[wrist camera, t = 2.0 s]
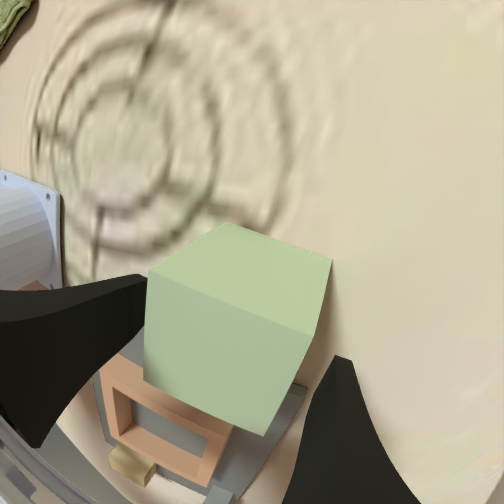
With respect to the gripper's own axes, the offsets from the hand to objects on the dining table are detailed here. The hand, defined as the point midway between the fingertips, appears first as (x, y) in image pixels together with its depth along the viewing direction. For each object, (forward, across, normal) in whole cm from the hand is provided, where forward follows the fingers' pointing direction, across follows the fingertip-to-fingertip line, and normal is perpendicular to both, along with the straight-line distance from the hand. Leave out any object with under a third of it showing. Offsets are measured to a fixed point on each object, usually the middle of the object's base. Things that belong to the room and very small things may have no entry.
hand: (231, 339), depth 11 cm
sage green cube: (+4, 0, 0) cm, 4 cm away
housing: (+4, +4, +15) cm, 16 cm away
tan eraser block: (+4, +7, +23) cm, 24 cm away
